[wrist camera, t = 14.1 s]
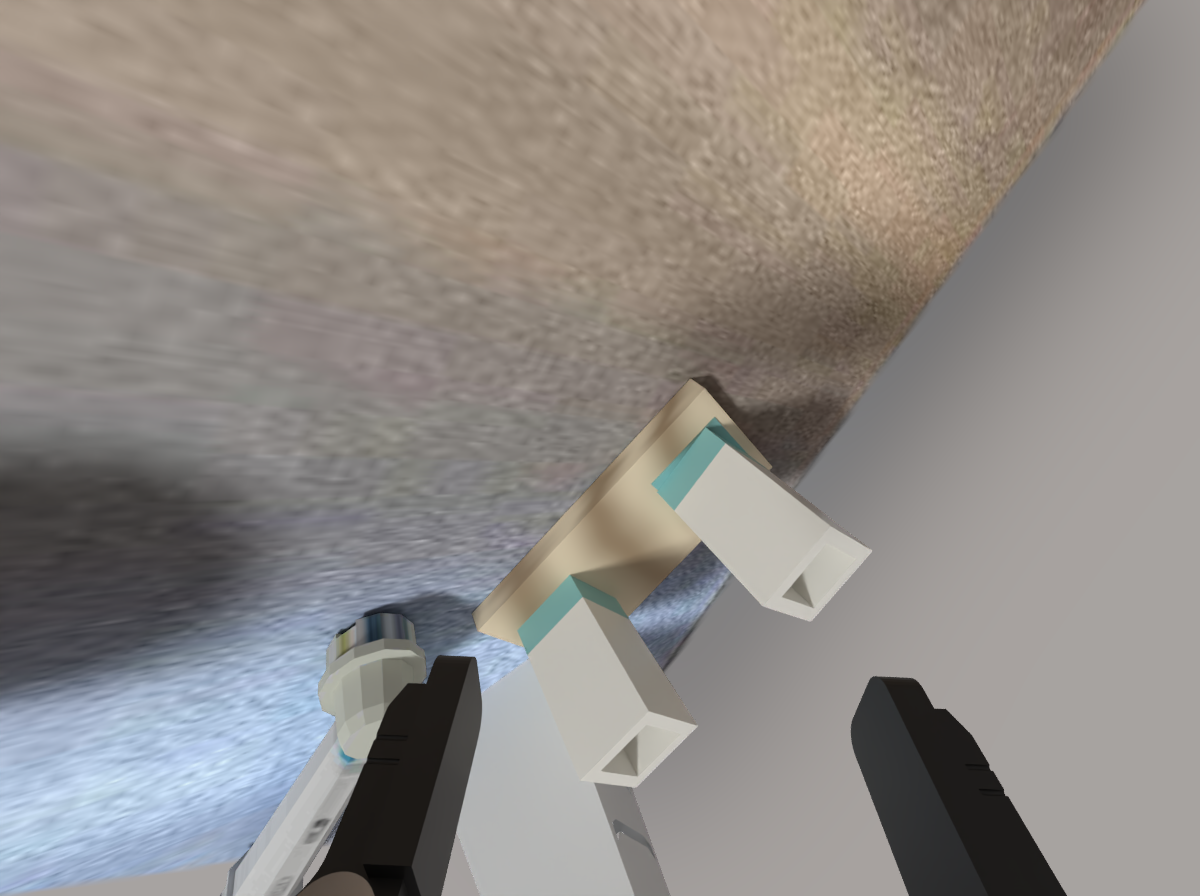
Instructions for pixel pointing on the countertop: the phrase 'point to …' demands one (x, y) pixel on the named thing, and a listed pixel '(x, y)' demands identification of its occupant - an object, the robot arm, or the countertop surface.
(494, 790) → the grater
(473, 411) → the countertop surface
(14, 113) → the countertop surface
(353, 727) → the electric toothbrush
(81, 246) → the countertop surface
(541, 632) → the seated sleeve
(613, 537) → the pin board
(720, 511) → the sleeve
